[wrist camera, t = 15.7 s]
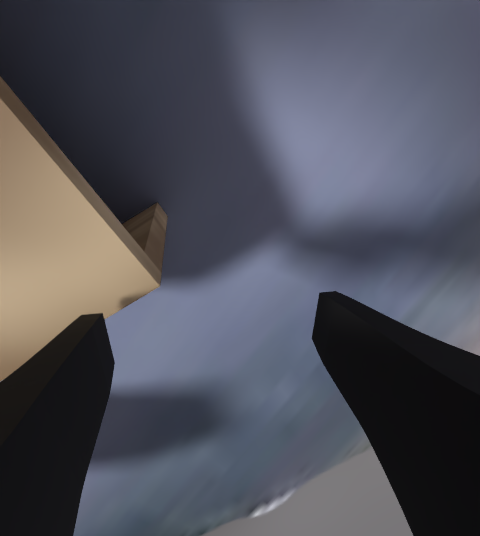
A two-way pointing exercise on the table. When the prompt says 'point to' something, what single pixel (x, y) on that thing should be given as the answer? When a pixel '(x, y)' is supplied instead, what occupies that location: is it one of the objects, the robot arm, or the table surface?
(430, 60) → the table surface
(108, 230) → the wooden box
